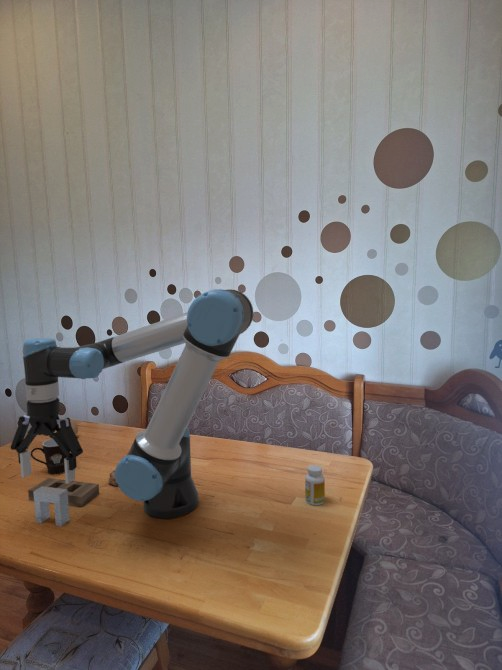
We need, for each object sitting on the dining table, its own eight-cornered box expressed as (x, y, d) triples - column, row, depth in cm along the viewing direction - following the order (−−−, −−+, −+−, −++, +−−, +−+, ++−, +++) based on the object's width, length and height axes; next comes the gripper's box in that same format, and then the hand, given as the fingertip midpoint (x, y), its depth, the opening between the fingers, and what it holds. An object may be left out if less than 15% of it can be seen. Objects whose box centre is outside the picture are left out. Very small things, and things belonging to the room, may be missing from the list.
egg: (77, 435, 177) (76, 416, 176) (79, 439, 172) (78, 420, 171) (60, 438, 174) (59, 418, 173) (62, 442, 168) (60, 422, 168)
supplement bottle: (327, 498, 120) (327, 465, 119) (321, 507, 116) (321, 473, 115) (309, 494, 123) (308, 462, 122) (302, 503, 118) (302, 470, 117)
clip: (69, 519, 112) (67, 489, 111) (61, 526, 109) (59, 494, 108) (44, 516, 114) (41, 486, 113) (35, 522, 111) (33, 491, 110)
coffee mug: (77, 465, 147) (75, 437, 146) (63, 476, 138) (61, 446, 137) (45, 464, 148) (43, 436, 147) (30, 475, 139) (28, 446, 138)
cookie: (129, 470, 142) (129, 461, 142) (146, 480, 135) (145, 471, 134) (101, 480, 136) (100, 471, 135) (116, 491, 128) (116, 481, 128)
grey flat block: (99, 493, 126) (98, 483, 126) (82, 507, 118) (81, 496, 118) (48, 487, 131) (47, 477, 130) (28, 499, 123) (27, 490, 123)
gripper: (-9, 399, 107) (-3, 479, 110) (75, 406, 101) (80, 490, 103) (14, 392, 115) (20, 467, 117) (94, 398, 108) (98, 477, 111)
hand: (48, 478), depth 110 cm, fingers open, 13 cm apart
